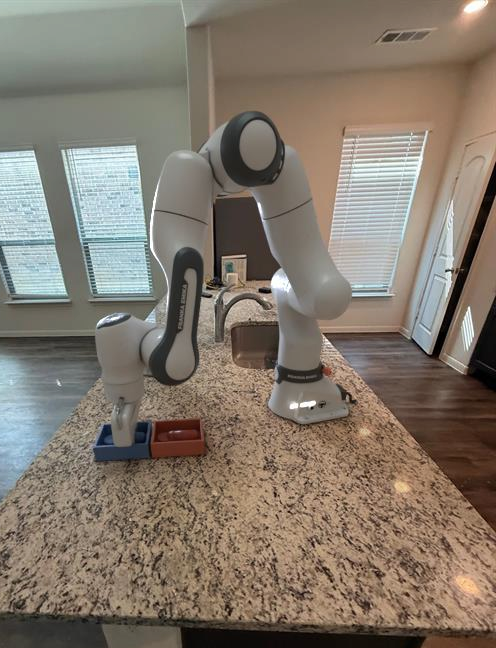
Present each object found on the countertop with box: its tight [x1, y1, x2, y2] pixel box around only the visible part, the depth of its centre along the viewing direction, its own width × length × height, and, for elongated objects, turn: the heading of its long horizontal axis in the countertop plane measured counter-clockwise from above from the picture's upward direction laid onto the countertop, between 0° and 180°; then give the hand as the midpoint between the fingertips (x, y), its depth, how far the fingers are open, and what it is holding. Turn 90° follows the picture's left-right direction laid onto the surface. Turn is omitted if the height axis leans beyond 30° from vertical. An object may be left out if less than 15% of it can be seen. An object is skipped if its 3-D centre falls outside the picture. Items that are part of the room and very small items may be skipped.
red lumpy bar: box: [158, 430, 199, 442], centre depth 77 cm, size 10×4×3 cm, turn 94°
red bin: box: [150, 417, 206, 459], centre depth 77 cm, size 12×10×4 cm
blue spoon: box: [104, 432, 147, 445], centre depth 76 cm, size 10×4×3 cm, turn 94°
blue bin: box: [92, 420, 153, 462], centre depth 76 cm, size 12×10×4 cm
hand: (132, 437), depth 76 cm, fingers closed on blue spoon, 3 cm apart
